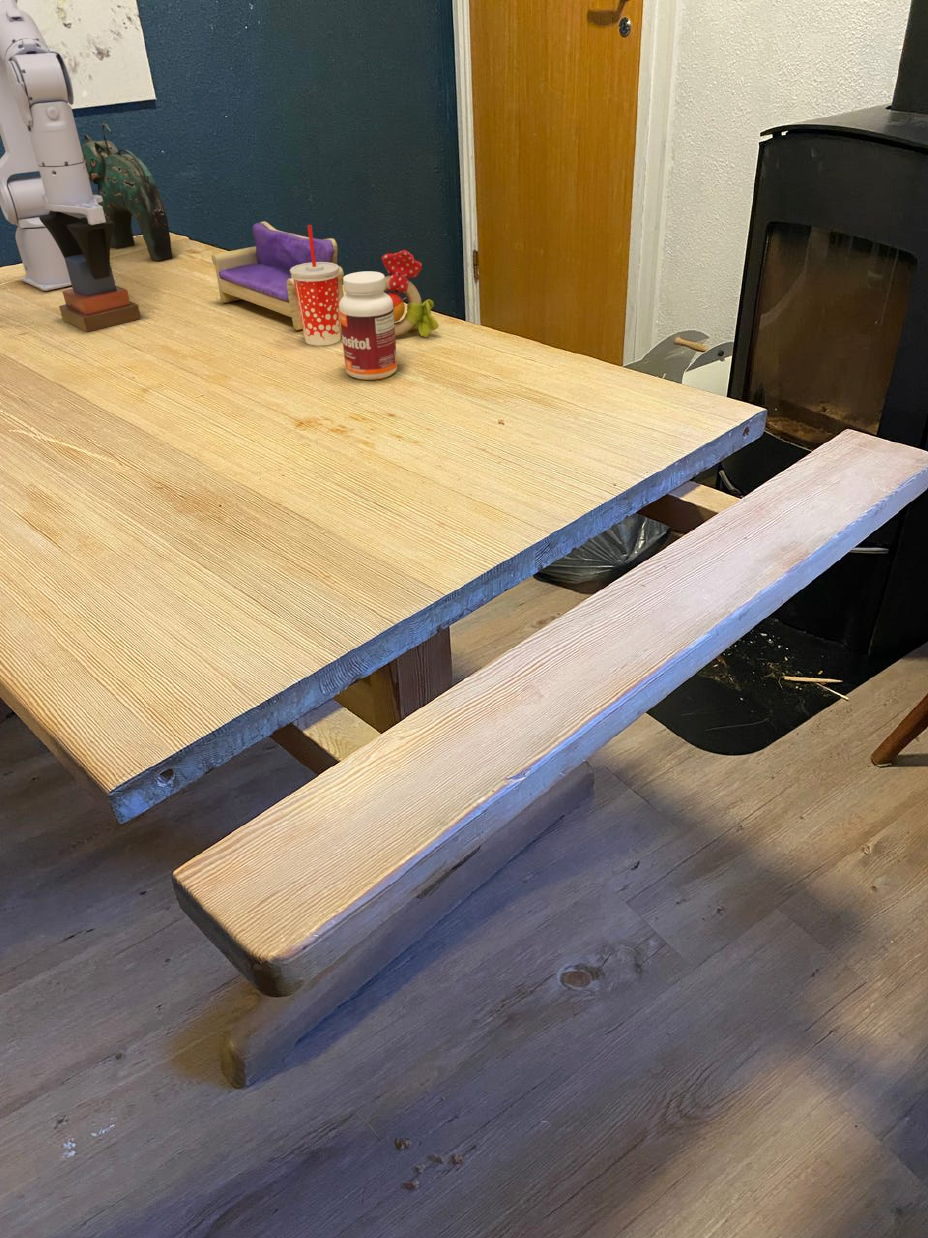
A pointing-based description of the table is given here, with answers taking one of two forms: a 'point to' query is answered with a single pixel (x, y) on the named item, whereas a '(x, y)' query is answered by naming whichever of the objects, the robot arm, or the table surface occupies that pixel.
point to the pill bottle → (367, 326)
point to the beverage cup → (318, 299)
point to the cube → (87, 277)
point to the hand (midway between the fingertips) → (89, 272)
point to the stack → (98, 309)
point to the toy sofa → (271, 269)
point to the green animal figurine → (128, 196)
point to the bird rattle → (407, 294)
